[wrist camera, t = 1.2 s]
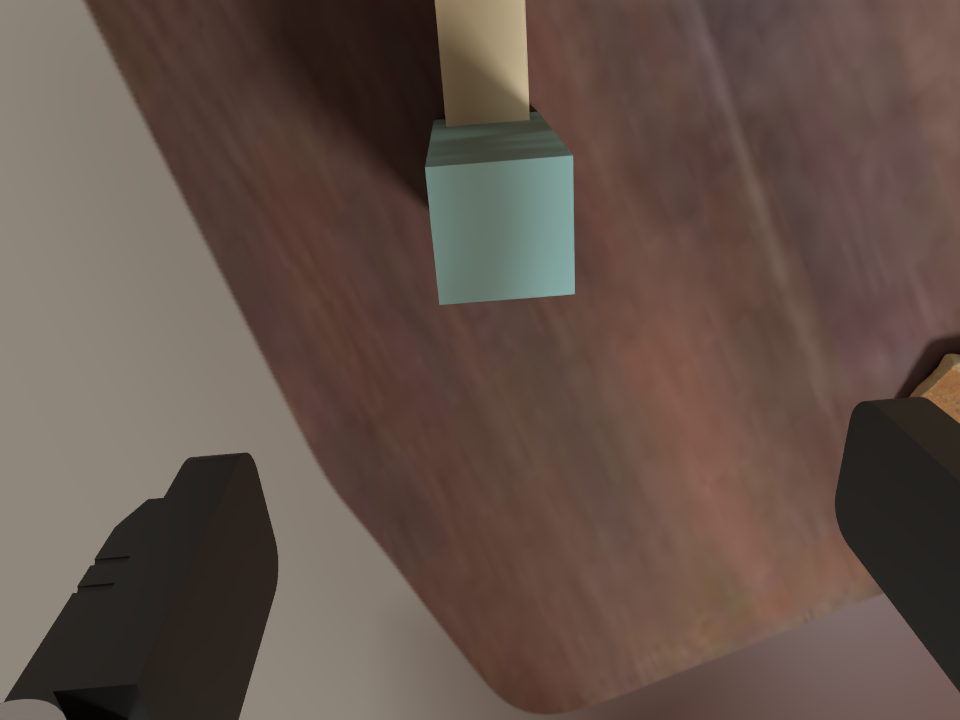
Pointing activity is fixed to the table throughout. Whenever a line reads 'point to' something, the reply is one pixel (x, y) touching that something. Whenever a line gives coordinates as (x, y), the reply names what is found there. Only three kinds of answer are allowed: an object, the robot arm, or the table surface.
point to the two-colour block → (495, 165)
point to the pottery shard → (943, 386)
